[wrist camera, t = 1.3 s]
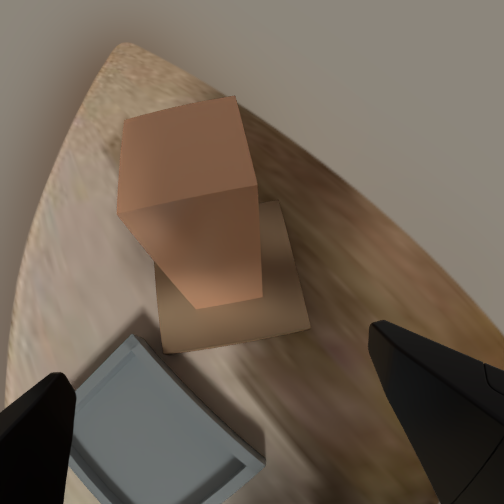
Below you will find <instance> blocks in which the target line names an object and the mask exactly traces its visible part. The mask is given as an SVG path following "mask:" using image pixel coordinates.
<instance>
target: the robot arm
mask: <svg viewBox="0 0 504 504" xmlns="http://www.w3.org/2000/svg"><path fill="white" fill-rule="evenodd" d="M368 350H369V354H370V357H371V359H372V362H373V364H374V366H375V369H376V371H377V374H378V377H379V379H380V382H381V384H382V387H383V389H384V392H385V394H386V397H387V399H388V401H389V403H390V404H391V406H392V408H393V410H394V412H395V414H396V416H397V418H398V419H399V421H400V423H401V425H402V427H403V429H404V431H405V433H406V435H407V437H408V439H409V441H410V442H411V444H412V446H413V448H414V450H415V452H416V454H417V456H418V458H419V460H420V462H421V464H422V466H423V468H424V470H425V472H426V474H427V476H428V478H429V480H430V482H431V485H432V487H433V489H434V491H435V493H436V495H437V497H438V499H439V501H440V503H441V504H504V371H503V370H501V369H498V368H496V367H493V366H491V365H489V364H486V363H484V364H483V362H481V361H479V360H477V359H474V358H472V357H470V356H467V355H465V354H462V353H460V352H458V351H455V350H453V349H451V348H448V347H446V346H444V345H441V344H439V343H437V342H434V341H432V340H430V339H427V338H425V337H423V336H420V335H418V334H416V333H413V332H411V331H409V330H407V329H404V328H402V327H400V326H397V325H395V324H393V323H390V322H388V321H386V320H380V321H377V322H373V323H371V324H370V327H369V341H368ZM76 400H77V397H76V392H75V390H74V389H73V387H72V385H71V384H70V382H69V381H68V379H67V377H66V376H65V374H63V373H61V372H53V373H50V374H49V375H48V376H46V377H45V378H44V379H42V380H41V381H40V382H38V383H37V384H36V385H35V386H33V387H32V388H31V389H30V390H28V391H27V392H26V393H24V394H23V395H22V396H21V397H19V398H18V399H17V400H16V401H14V402H13V403H12V404H10V405H9V406H8V407H7V408H5V409H4V410H3V411H2V412H1V413H0V504H63V502H64V493H65V485H66V478H67V471H68V464H69V458H70V452H71V446H72V439H73V429H74V418H75V409H76Z"/></svg>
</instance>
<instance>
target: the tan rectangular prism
mask: <svg viewBox="0 0 504 504" xmlns="http://www.w3.org/2000/svg"><path fill="white" fill-rule="evenodd" d="M117 215H118V216H119V217H120V219H121V220H122V221H123V223H124V224H125V225H126V226H127V228H128V229H129V230H130V232H131V233H132V234H133V235H134V237H135V238H136V239H137V240H138V242H139V243H140V244H141V245H142V247H143V248H144V249H145V250H146V251H147V253H148V254H149V255H150V256H151V258H152V259H153V260H154V261H155V262H156V264H157V265H158V266H159V267H160V268H161V270H162V271H163V272H164V273H165V274H166V275H167V277H168V278H169V279H170V280H171V281H172V283H173V284H174V285H175V286H176V287H177V288H178V290H179V291H180V292H181V293H182V294H183V295H184V296H185V298H186V299H187V300H188V301H189V302H190V303H191V304H192V305H193V307H194V308H195V309H201V308H207V307H213V306H218V305H224V304H229V303H235V302H240V301H246V300H251V299H256V298H261V297H263V291H262V268H261V245H260V223H259V201H258V184H257V180H256V176H255V172H254V168H253V164H252V160H251V156H250V152H249V148H248V144H247V140H246V136H245V132H244V128H243V124H242V120H241V116H240V112H239V108H238V104H237V100H236V97H235V96H229V97H223V98H218V99H212V100H207V101H202V102H197V103H192V104H187V105H182V106H178V107H173V108H169V109H165V110H161V111H157V112H153V113H149V114H145V115H141V116H138V117H134V118H130V119H127V120H124V127H123V136H122V145H121V156H120V167H119V181H118V198H117Z"/></svg>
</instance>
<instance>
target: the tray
mask: <svg viewBox="0 0 504 504" xmlns="http://www.w3.org/2000/svg"><path fill="white" fill-rule="evenodd" d="M75 392H76V397H77V400H76V409H75V418H74V429H73V439H72V446H71V452H70V458H69V464H68V465H69V467H70V468H71V469H72V470H73V472H74V473H75V474H76V475H77V476H78V478H79V479H80V480H81V481H82V482H83V484H84V485H85V486H86V487H87V488H88V489H89V491H90V492H91V493H92V494H93V495H94V496H95V497H96V498H97V499H98V501H99V502H100V503H101V504H221V503H223V502H224V501H225V500H226V499H228V498H229V497H230V496H231V495H233V494H234V493H235V492H236V491H237V490H239V489H240V488H241V487H242V486H243V485H245V484H246V483H247V482H248V481H249V480H250V479H252V478H253V477H254V476H255V475H256V474H257V473H258V472H260V471H261V470H262V469H263V468H264V467H265V466H266V459H265V458H264V457H263V456H262V455H260V454H259V453H258V452H257V451H256V450H254V449H253V448H252V447H251V446H250V445H249V444H247V443H246V442H245V441H244V440H243V439H242V438H241V437H239V436H238V435H237V434H236V433H235V432H234V431H233V430H232V429H230V428H229V427H228V426H227V425H226V424H225V423H224V422H223V421H222V420H221V419H220V418H219V417H217V416H216V415H215V414H214V413H213V412H212V411H211V410H210V409H209V408H208V407H207V406H206V405H205V404H204V403H203V402H202V401H201V400H200V399H199V398H198V397H197V396H196V395H195V394H194V393H193V392H192V391H191V390H190V389H189V388H188V387H187V386H186V385H185V384H184V383H183V382H182V381H181V380H180V379H179V378H178V377H177V376H176V375H175V374H174V373H173V372H172V370H171V369H170V368H169V367H168V366H167V365H166V364H165V363H164V362H163V361H162V360H161V358H160V357H159V356H158V355H157V354H156V353H155V352H154V351H153V350H152V348H151V347H150V346H149V345H148V344H147V343H146V342H145V340H144V339H143V338H141V337H138V336H136V335H134V334H131V335H130V336H129V337H128V338H127V339H126V340H125V341H124V342H123V343H122V344H121V345H120V346H119V347H118V348H117V349H116V350H115V351H114V352H113V353H112V354H111V355H110V356H109V357H108V358H107V359H106V360H105V361H104V362H103V364H102V365H101V366H100V367H99V368H98V369H97V370H96V371H95V372H94V373H93V374H92V375H91V376H90V377H89V378H88V379H87V380H86V381H85V382H84V383H83V384H82V385H81V386H80V387H79V388H78V389H77V390H76V391H75Z"/></svg>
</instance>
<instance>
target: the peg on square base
mask: <svg viewBox="0 0 504 504" xmlns="http://www.w3.org/2000/svg"><path fill="white" fill-rule="evenodd" d="M259 223H260V245H261V268H262V291H263V297H261V298H256V299H251V300H246V301H240V302H235V303H229V304H224V305H218V306H213V307H207V308H201V309H195V308H194V307H193V305H192V304H191V303H190V302H189V301H188V300H187V299H186V298H185V296H184V295H183V294H182V293H181V292H180V291H179V290H178V288H177V287H176V286H175V285H174V284H173V283H172V281H171V280H170V279H169V278H168V277H167V275H166V274H165V273H164V272H163V271H162V270H161V268H160V267H159V266H158V265H157V264H156V262H155V261H154V267H155V281H156V293H157V304H158V314H159V323H160V332H161V341H162V349H163V354H166V355H169V354H176V353H184V352H191V351H197V350H204V349H210V348H216V347H222V346H228V345H234V344H240V343H245V342H251V341H256V340H261V339H267V338H272V337H277V336H281V335H286V334H291V333H296V332H300V331H305V330H309V329H310V328H311V326H310V322H309V318H308V314H307V309H306V305H305V301H304V297H303V293H302V289H301V285H300V281H299V276H298V272H297V268H296V265H295V261H294V257H293V253H292V249H291V245H290V241H289V237H288V233H287V230H286V226H285V222H284V218H283V215H282V211H281V207H280V203H279V200H274V201H269V202H263V203H259Z"/></svg>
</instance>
